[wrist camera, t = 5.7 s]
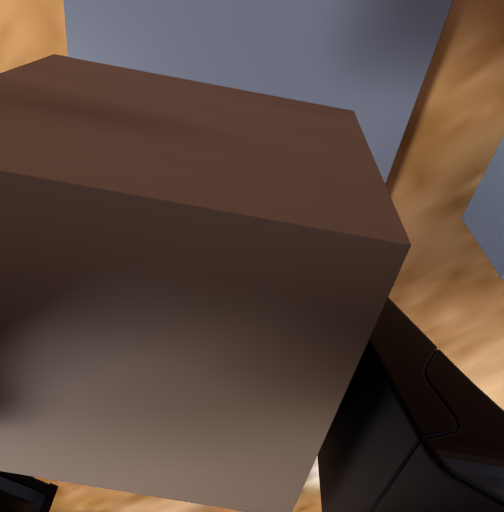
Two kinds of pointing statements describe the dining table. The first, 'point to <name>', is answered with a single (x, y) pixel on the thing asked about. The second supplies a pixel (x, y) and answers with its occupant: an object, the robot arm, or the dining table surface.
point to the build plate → (277, 50)
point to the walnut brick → (181, 281)
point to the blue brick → (489, 211)
